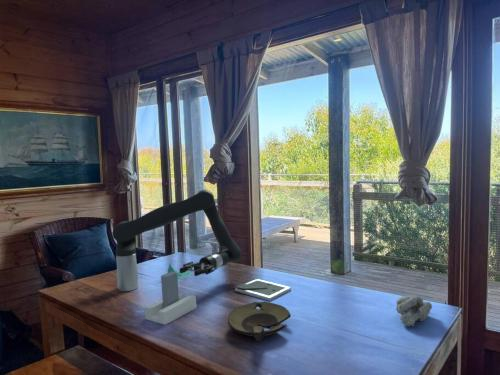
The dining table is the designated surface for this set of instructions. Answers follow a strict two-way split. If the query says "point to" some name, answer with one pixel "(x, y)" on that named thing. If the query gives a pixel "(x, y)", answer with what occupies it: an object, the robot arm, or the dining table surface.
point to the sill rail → (170, 309)
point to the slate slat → (169, 288)
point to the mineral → (412, 309)
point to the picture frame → (263, 289)
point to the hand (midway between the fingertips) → (187, 272)
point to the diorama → (179, 275)
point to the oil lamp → (258, 319)
